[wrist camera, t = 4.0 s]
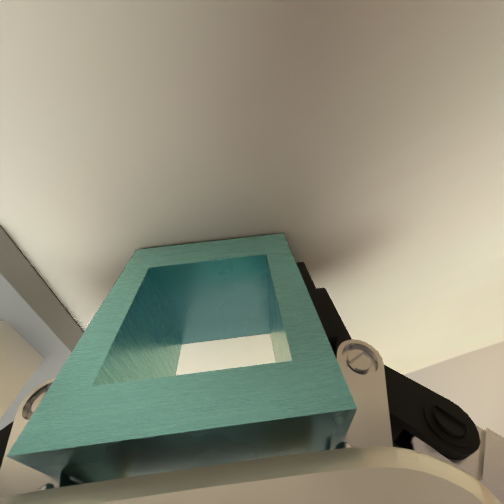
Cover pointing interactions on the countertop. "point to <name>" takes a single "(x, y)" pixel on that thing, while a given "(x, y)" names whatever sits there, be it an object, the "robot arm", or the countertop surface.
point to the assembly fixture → (28, 330)
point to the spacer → (197, 384)
